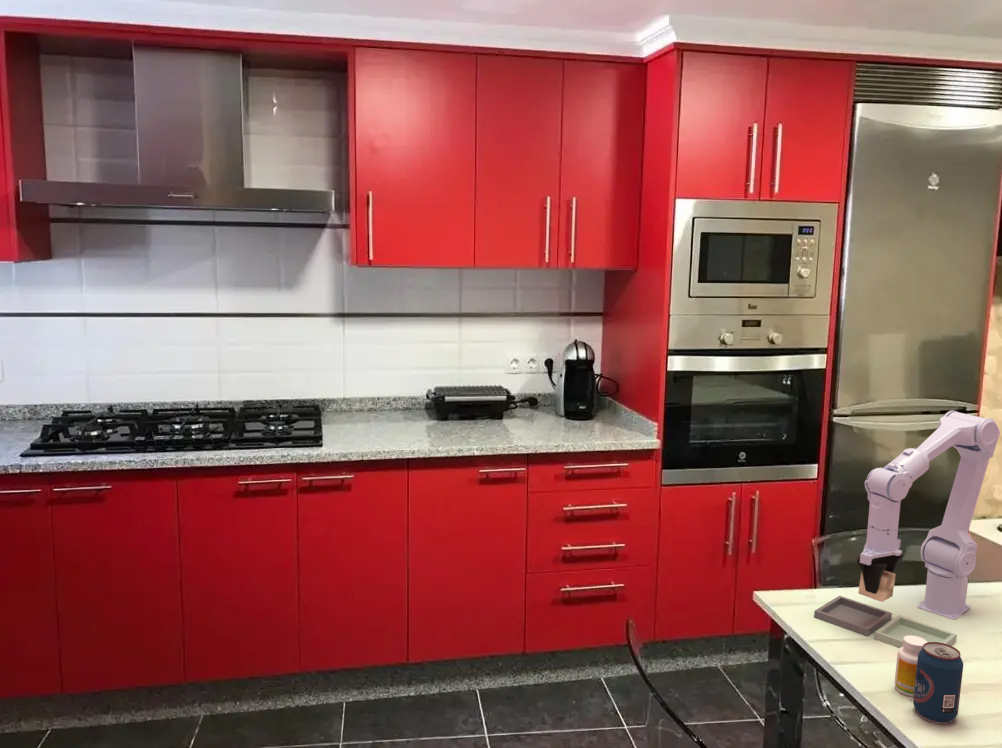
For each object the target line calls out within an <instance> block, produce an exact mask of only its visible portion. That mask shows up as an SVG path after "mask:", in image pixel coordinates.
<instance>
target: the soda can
mask: <svg viewBox="0 0 1002 748" xmlns="http://www.w3.org/2000/svg"><path fill="white" fill-rule="evenodd" d="M963 672H964V661H963V659H962V656H961V652H960V650H959V649H957V648H956V647H955V646H953V645H952V646H950V645H948V644H944V643H939V642H927V643H925V644H924V645H923V648H922V649H921V651H920V652H919V653H918V660H917V670H916V679H915V689H914V697H913V700H912V701H913V702H912V704H913V707H914V708H915V710H916V712H917V714H918V715H919V716H920V717H921V718H923V719H924V720H926V721H929V722H932V723H936V724H949V723H951V722H952V721H954V720H955V719H956V718H957V717H958V714H959V707H960V698H961V689H962V683H963V682H962V680H963Z"/></svg>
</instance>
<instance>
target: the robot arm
mask: <svg viewBox="0 0 1002 748" xmlns="http://www.w3.org/2000/svg"><path fill="white" fill-rule="evenodd" d="M938 420H939V421H938V424H937V426H938V427H937V428H936V429H935V431H933V433H931V434H930V435H929V436H928V437H927V438H926V439H925V440H924V441H923V442H922V443H921V444H920V445H919V446H918V447H917V448H915V447H913V448H912V447H910V448H909V447H908V448H906V449H904V450H903V451H902V452H901V453H900V454H899V455H898V456H896V457H895V458H894V459H893V460H891V461H890V462H889V463H888V464H886V465H885V466H884V467H876V468H874V469H872V470H871V471H870V472H869V473H868V474H867V477H866V479H865V481H864V488H865V491H866V492H867V500H868V502H869V508H868V521H867V531H866V543H864V546H863V551H862V552H861V553H860V554H859V556H858V557H857V558H856V563H857V564H858V567H859V568H860V572H861V571H862V574H863V579H864V585H865V590H866V591H867V592H870V593H873V594H876V593H877V591H878V588H879V584H880V580H881V576H882V574H883V572H884V570H886V571H889V572H892V573H895V571H896V568H897V567H898V564H899V563H900V561H901V560H902V559H903V557H904V554H903V550H901V549H900V548H901V542H902V540H901V539H900V538H898V534H899V533H898V532H899V521H900V514H901V513H900V512H901V501H902V500H903V499H906V497H907V495H908V493H909V490H910V488H912V486H913V483H914V482H915V481H916V480H917V479H918V478H920V477H921V476H922V475H924V474H925V473H926V472H927V471H928V470H929V468H930V462H931V461H932V460H934V459H935V458H936V457H938V456H940V455H941V454H943V453H944V452H945V451H947V450H949V449H950V448H951V447H953V448H954V449H956V450H957V452H958V455H960V460H959V464H958V467H957V471H956V474H955V477H954V480H953V485H952V487H951V491H950V494H949V498H948V502H947V504H946V508H945V510H944V511H945V512H944V515H943V518H942V522H941V525H938V526H936V527H933V528H932V529H930V530H929V531H928V533H927V536H926V538H925V539H924V541H923V542H922V543H921V546H920V557H921V560H922V561H923V562H924V567H925V568H926V569H927V574H926V582H925V595H924V600H923V601H922V602H921V603H919V604H918V605H916V608H917V609H919V610H921V611H925V612H928V613H931V614H934V615H937V616H941V617H943V618H947V619H950V620H953V621H954V620H957V619H959V617H962V615H963V614H965V613H966V612H967V611H968V610H969V609H970V608H971V606H970V605H968V604H966V603H967V594H968V585H969V579H968V576H969V575H970V574H972V573H973V571H974V570H975V567H976V565H977V558H976V557H977V549H978V544H977V543H976V541H975V540H974V539H973V537H972V536H971V535H970V533H969V530H970V527H971V523H972V520H973V517H974V513H975V511H976V510H975V509H976V506H977V502H978V499H979V496H980V493H981V489H982V486H983V482H984V479H985V476H986V473H987V469H988V465H989V462H990V459H991V458H993V457H994V455H995V454H994V453H995V450H996V447H997V444H998V441H999V437H1000V434H1001V431H1000V429H999V425H998V423H996V421H995V420H994V419H993V418H988V417H986V418H985V417H981V416H977V415H972V414H967V413H963V412H959V411H957V410H949V411H947V412H946V413H945V414H944V415H943V416H942V417H940V418H939V419H938Z"/></svg>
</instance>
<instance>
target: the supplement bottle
mask: <svg viewBox="0 0 1002 748" xmlns="http://www.w3.org/2000/svg"><path fill="white" fill-rule="evenodd" d="M925 643H927V641H926V640H925V639H923V638H921V637H917V636H911V635H909V636H905V637H904V638H903V647H901V648H899V649H898V651H897V657H896V665H895V666H896V667H895V677H894V688H895V690H896V691H898V692H899V693H901V694H902V695H904V696H907V697H911V698H912V697H913V698H914V689H915V679H916V670H917V660H918V653H919V652H920V651H921V649H922V648H923V645H924V644H925Z"/></svg>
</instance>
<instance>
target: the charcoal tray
mask: <svg viewBox="0 0 1002 748" xmlns="http://www.w3.org/2000/svg"><path fill="white" fill-rule="evenodd" d="M813 612H814V613H813V618H815V619H817V620H820V621H823V622H825V623H829V624H831V625H834V626H837V627H840V628H842V629H845V630H847V631H851V632H853V633H857V634H858V635H863V636H865V637H866V638H867V637H869V636H871V635H872V634H873V633H875V632H876V631H877V630H878V629H880V628H881V627H883V626H884V625H886V624H887V623H888V622H890V621H891V620H892V619H893V618H892V617H893V616H892V615H893V613H892V612H891V611H888V610H884V609H881V608H878V607H875V606H872V605H870V604H867V603H864V602H860V601H857V600H853V599H851V598H848V597H845V596H841V595H838V596H836V597H835V598H833V599H831V600H830V601H828V602H826V603H825V604H822V606H819V607H818V608H817V609H815V610H814V611H813Z"/></svg>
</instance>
